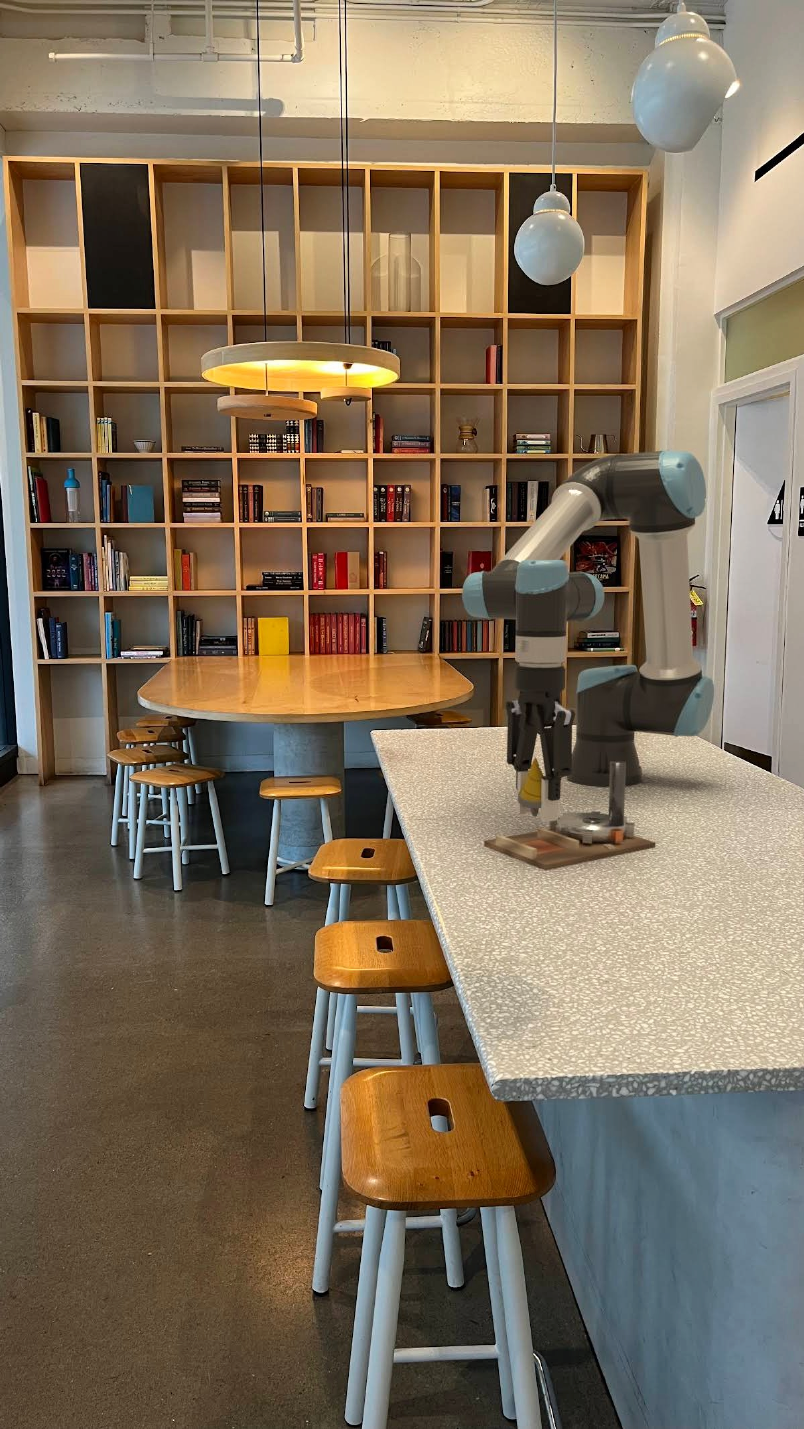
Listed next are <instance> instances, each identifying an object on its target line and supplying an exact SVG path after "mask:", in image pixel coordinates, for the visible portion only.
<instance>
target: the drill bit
mask: <svg viewBox="0 0 804 1429" xmlns="http://www.w3.org/2000/svg"><path fill="white" fill-rule="evenodd" d="M529 770H530V771H529V773H528V776H527V778H526V781H525V784H524V786H523V789H522V790H521V791H520V792H519V793H518V802H519V804H521V805H522V806H524V807H528V808H531V813H530V814H531V816H532V817H535V818H537V816H538V815H539V812H540V811H539V810H540V809H541V804H542V802H541V786H542V776H544V772H542V768H541V767H540V764H539V762H538V760H537V757H534V759H532V766H531V768H530V769H529Z"/></svg>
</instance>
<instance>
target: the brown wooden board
mask: <svg viewBox="0 0 804 1429" xmlns="http://www.w3.org/2000/svg"><path fill="white" fill-rule="evenodd" d="M536 830H537V831H530V832H525V833H520V834H515V835H509V836H508V835H507V836H504V835H501V834H498V835H495V838H491V839H487V840H485V839H484V840H483V846H484V848H488V849H490V850H493V851H495V852H498V853H500V854H501V855H502V854H503V855H506V856H507V857H510V858H513V859H515V860H518V861H520V862H523V863H524V864H528V865H530V866H533V867H535V868H538V869H541V870H543V871H550V870H553V869H558V868H563V867H568V866H574V865H578V864H583V863H587V862H592V861H596V860H601V859H602V860H603V859H606V858H611V857H615V856H620V855H625V854H629V853H630V854H631V853H635V852H639V851H644V850H649V849H654V848H656V841H655V842H654V841H652V840H648V839H645V838H642V837H639V836H636V835H634V836H625V837H624V838H623V841H622V842H616V843H615V842H612V841H602V842H594V841H593V842H592V843H583V841H581V840H575V839H572V838H569V837H567V836H564V835H561V834H558V833H556V831H553V830H550V828H549V829H546V828H543V827H537V829H536Z"/></svg>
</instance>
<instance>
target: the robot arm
mask: <svg viewBox="0 0 804 1429" xmlns="http://www.w3.org/2000/svg"><path fill="white" fill-rule="evenodd" d="M706 499H707V486H706V480H705V474H704V472H703V469H702V465H701V464H700V462H699V461H698V459H697V458H696V456H695V455H693V454H692V453H691V452H688V451H684V450H682V451H681V450H669V449H668V450H667V449H666V450H660V451H659V450H657V451H647V452H635V453H634V452H633V453H626V454H623V453H622V454H621V453H618V454H610V455H605V456H602V457H600V458H597V459H595V460H593V461H592V462H591V461H590V462H589V463H587V464H585V465H584V466H583V467H581V468H579V469H577V470H576V471H575V472H573V473H572V474H571V475H569V477H567V478H566V479H565V480H564V481H563V482H562V483H561V484H560V485H559V486H558V487H557V488H556V489H555V491H554V492H553V494H552V496H551V503H550V504H549V506H547V508H546V509H545V510H544V511H543V513H541V514H540V516H539V517H538V518H537V519H536V520H535V521H534V522H533V523H532V525H530V527H529V528H528V529H527V530H526V532H524V534H523V535H522V536H521V537H520V538H519V539H518V540H517V541H516V542H515V544H514V545H513V546H512V547H511V548H510V549H509V550H508V551H507V552H506V554H505V555H504V556H503V557H502V558H501V559H500V560H499V561H498V562H497V564H496V565H495V566H494V567H493V568H492V570H490V571H486V570H482V571H477V572H473V573H470V574H469V575H468V576H467V577H466V579H465V580H464V581H463V582H464V583H463V586H462V591H461V598H462V602H463V605H464V606H463V607H464V609H465V611H466V612H467V614H468V615H470V616H471V617H474V618H482V619H488V620H496V619H497V620H515V653H514V654H515V656H514V657H515V658H514V659H515V661H516V662H517V663H519V664H517V665H516V666H515V667H514V689H515V690H516V691H519V695H518V698H517V699H515V700H510V701H506V703H505V708H506V709H505V710H506V714H507V734H506V736H507V737H506V742H507V743H506V762H507V764H508V765H511V766H513V768H514V770H515V771H516V772H515V787H516V791H517V793H516V794H517V796H516V814H518V815H522V814H523V815H524V814H532V813H531V808H528V807H524V806H522V805H521V804H519V802H518V793H519V792H520V791H521V790H522V789H523V786H524V784H525V781H526V778H527V776H528V773H529V771H530V768H531V766H532V763H533V760H534V759H533V757H534V754H535V747H536V742H537V738H538V735H539V739H540V745H541V753H542V761H543V766H544V774H545V775H543V776H542V786H541V802H542V804H541V808H540V822H542V823H550V821H555V820H558V818H559V800H560V799H561V793H562V792H561V787H562V786H561V784H562V783H561V782H562V779H563V778H565V777H566V779H567V780H568V781H570V782H571V783H575V784H579V785H585V786H591V787H592V786H594V787H604V788H605V787H609V784H610V762H611V761H624V762H626V772H625V787H628V786H633V785H637V784H640V783H642V781H643V768H642V766H641V765H640V760H639V756H638V752H637V748H636V745H635V733H637V732H638V733H646V734H656V735H657V734H658V735H664V736H674V737H675V738H677V737H696V736H698V735H699V734H701V733H702V732H703V731H704V729H705V728H706V726H707V723H708V722H709V719H710V715H711V714H712V713H711V712H712V709H713V705H714V698H715V685H714V681H713V679H712V678H711V677H708V676H703V667H702V664H701V663H700V662H699V661H698V660H696V659H695V658H694V654H693V652H694V651H693V650H694V649H693V632H692V631H693V630H692V612H691V611H692V610H691V590H690V589H691V588H690V587H691V586H690V568H689V550H688V549H689V548H688V546H689V545H688V534H689V533H690V531H692V530H693V528H694V527H695V525H696V518H697V517H700V516H701V515H702V514H703V513H704V510H705V507H706ZM614 519H618V520H628V522H629V523H628V524H629V525H628V526H629V531H630V533H632V534H633V535H634V536H635V537H636V538H637V539H638V546H639V549H638V550H639V561H640V575H641V577H640V578H641V592H642V593H641V594H642V605H643V606H642V608H643V621H644V622H643V624H644V638H645V650H646V651H645V652H646V653H645V654H646V655H645V656H646V661H645V662H644V663H643V664H642V665H641V666H640V668H639V673H638V668H637V666H636V665H635V664H625V665H624V664H622V665H608V666H601V667H594V668H587V669H584V670H582V671H581V672H579V674H578V678H577V686H576V691H575V695H576V713H575V710H574V709H569V710H568V709H566V708H564V706H563V704H562V700H561V692H563V691H564V690H565V688H566V672H567V671H566V668H565V666H564V665H562V664H563V663H566V662H567V622H583V621H585V620H589V619H591V618H593V617H595V616H596V615H597V614H598V613H599V612H600V611H601V609H602V607H603V605H604V603H605V591H604V590H605V589H604V587H603V584H602V582H600V580H599V579H598V578H597V577H596V576H594V575H593V574H590V573H587V572H582V571H572V572H569V570H568V569H569V568H568V564H567V562H566V561H564V560H563V559H561V558H562V557H563V555H565V553H566V552H567V551H568V550H569V549H570V548H571V546H572V545H573V544H574V542H576V540H577V539H578V538H579V537H580V535H581V534H582V533H583V532H585V531H588V530H590V529H592V528H593V527H595V526H596V525H597V524H598V522H601V521H606V520H614ZM575 716H576V725H575V726H576V728H575V734H576V735H575V743H574V746H573V724H574V720H575ZM572 748H573V749H572Z"/></svg>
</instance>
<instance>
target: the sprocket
mask: <svg viewBox="0 0 804 1429" xmlns="http://www.w3.org/2000/svg"><path fill="white" fill-rule="evenodd" d="M625 772H626V762H624V761H611V762H610V784H609V789H608V790H609V794H608V813H601V811H594V810H593V811H591V812H577V813H576V812H572V811H566V812H563V813H562V815H560V816H558V820H555V821H549V829H550V830H553V831H556V833H558V834H561V835H564V836H567V837H569V838H572V839H575V840H581V841H583V843H592V842H593V841H594V842H602V841H612V842H615V843H616V842H622V841H623V838H624V837H625V836H635V822H628V817H627V816H625V805H626V804H625V798H626V786H625Z"/></svg>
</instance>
